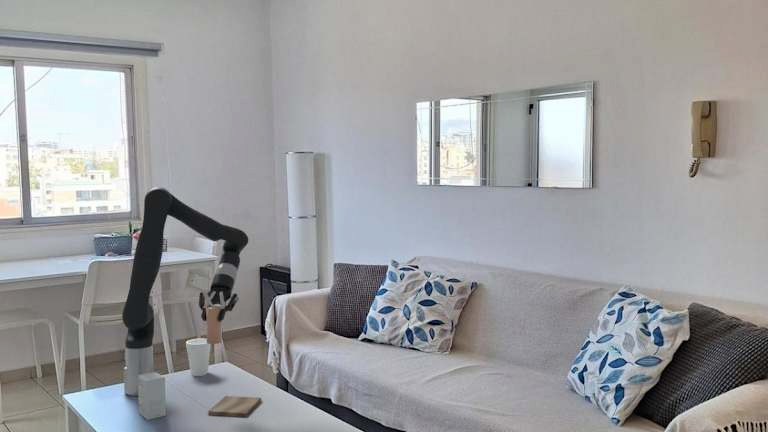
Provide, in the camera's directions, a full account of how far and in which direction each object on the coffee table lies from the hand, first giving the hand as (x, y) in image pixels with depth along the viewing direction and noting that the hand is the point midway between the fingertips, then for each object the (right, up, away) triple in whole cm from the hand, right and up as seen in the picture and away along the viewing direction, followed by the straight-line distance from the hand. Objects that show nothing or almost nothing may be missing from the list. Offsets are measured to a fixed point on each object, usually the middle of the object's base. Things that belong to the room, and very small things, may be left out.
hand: (211, 319), depth 227 cm
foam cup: (-15, -28, +38) cm, 50 cm away
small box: (-18, -31, -5) cm, 36 cm away
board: (+8, -30, +1) cm, 31 cm away
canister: (0, -8, +2) cm, 8 cm away
